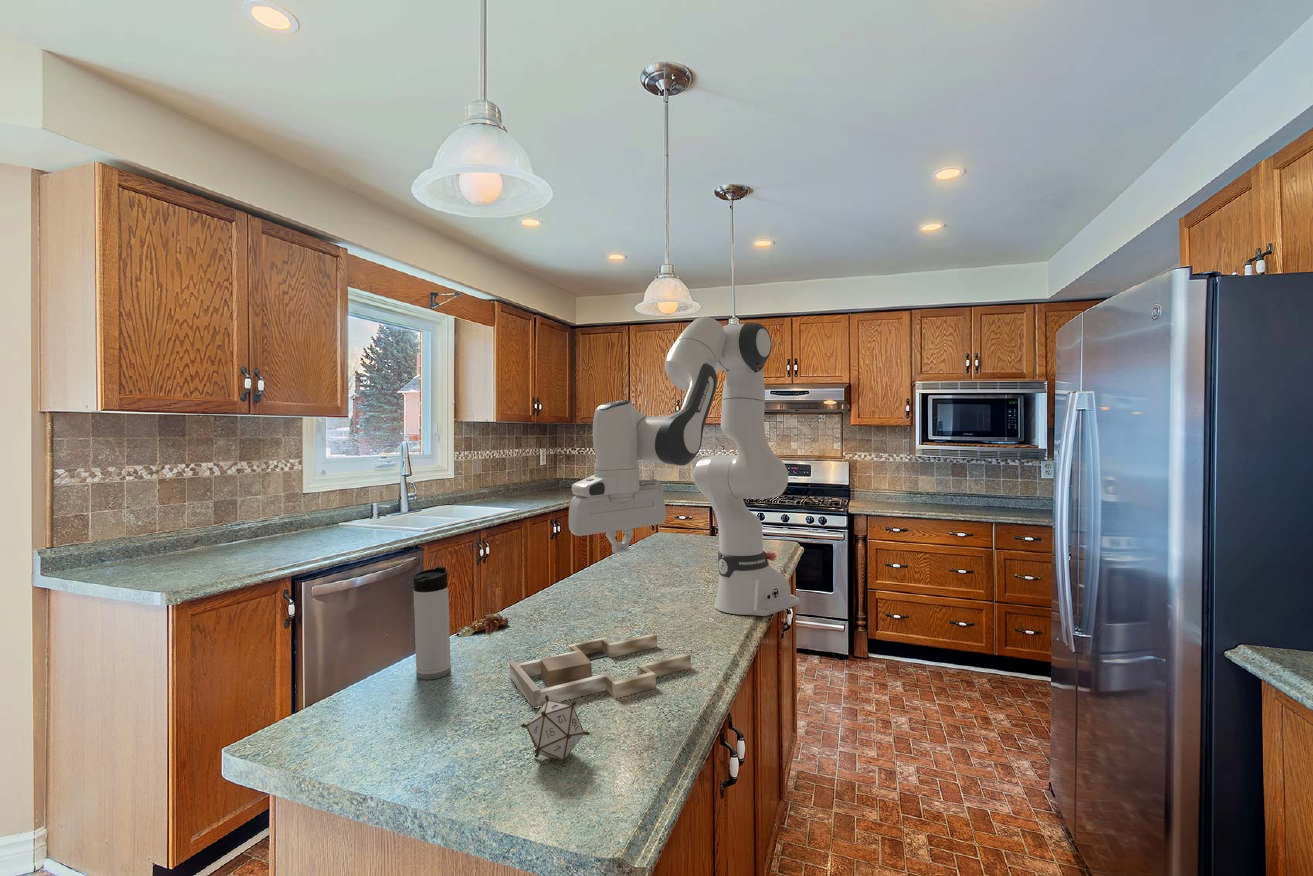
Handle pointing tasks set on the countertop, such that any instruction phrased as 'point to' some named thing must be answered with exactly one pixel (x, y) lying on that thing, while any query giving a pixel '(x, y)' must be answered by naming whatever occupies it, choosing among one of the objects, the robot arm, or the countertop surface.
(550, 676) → the walnut block
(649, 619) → the countertop surface
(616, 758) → the countertop surface
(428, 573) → the travel mug
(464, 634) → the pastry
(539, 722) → the game die
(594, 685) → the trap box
